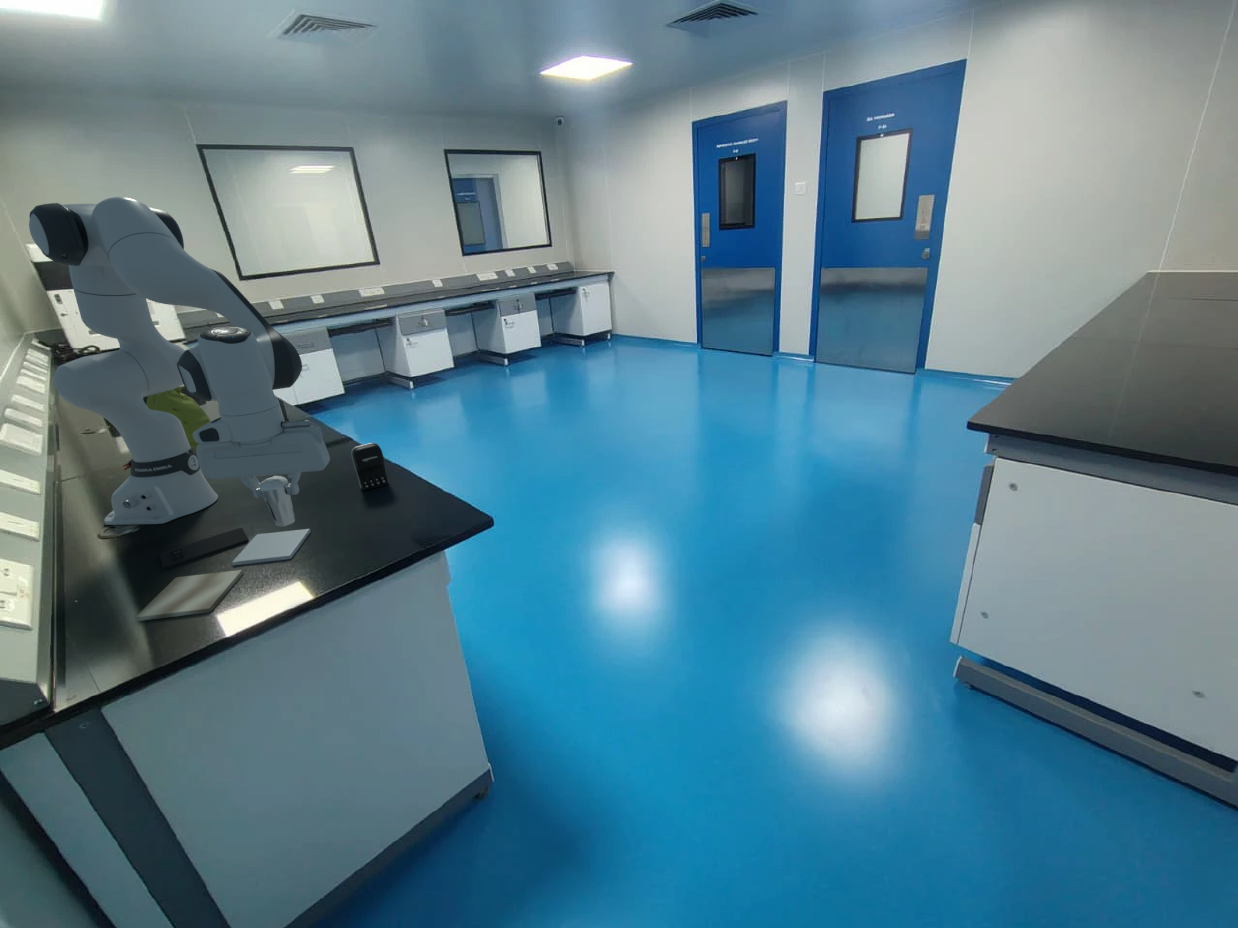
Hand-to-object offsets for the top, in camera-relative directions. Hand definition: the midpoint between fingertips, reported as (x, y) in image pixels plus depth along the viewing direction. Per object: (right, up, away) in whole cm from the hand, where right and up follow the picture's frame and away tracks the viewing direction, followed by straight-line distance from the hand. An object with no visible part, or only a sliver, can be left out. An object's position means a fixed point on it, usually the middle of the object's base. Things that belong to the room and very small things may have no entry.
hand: (277, 494), depth 100 cm
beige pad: (-16, -19, +1) cm, 25 cm away
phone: (-26, -13, +17) cm, 33 cm away
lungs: (-74, +10, +74) cm, 105 cm away
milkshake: (0, -5, +2) cm, 6 cm away
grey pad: (-10, -12, +15) cm, 22 cm away
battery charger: (-1, 0, +42) cm, 42 cm away
